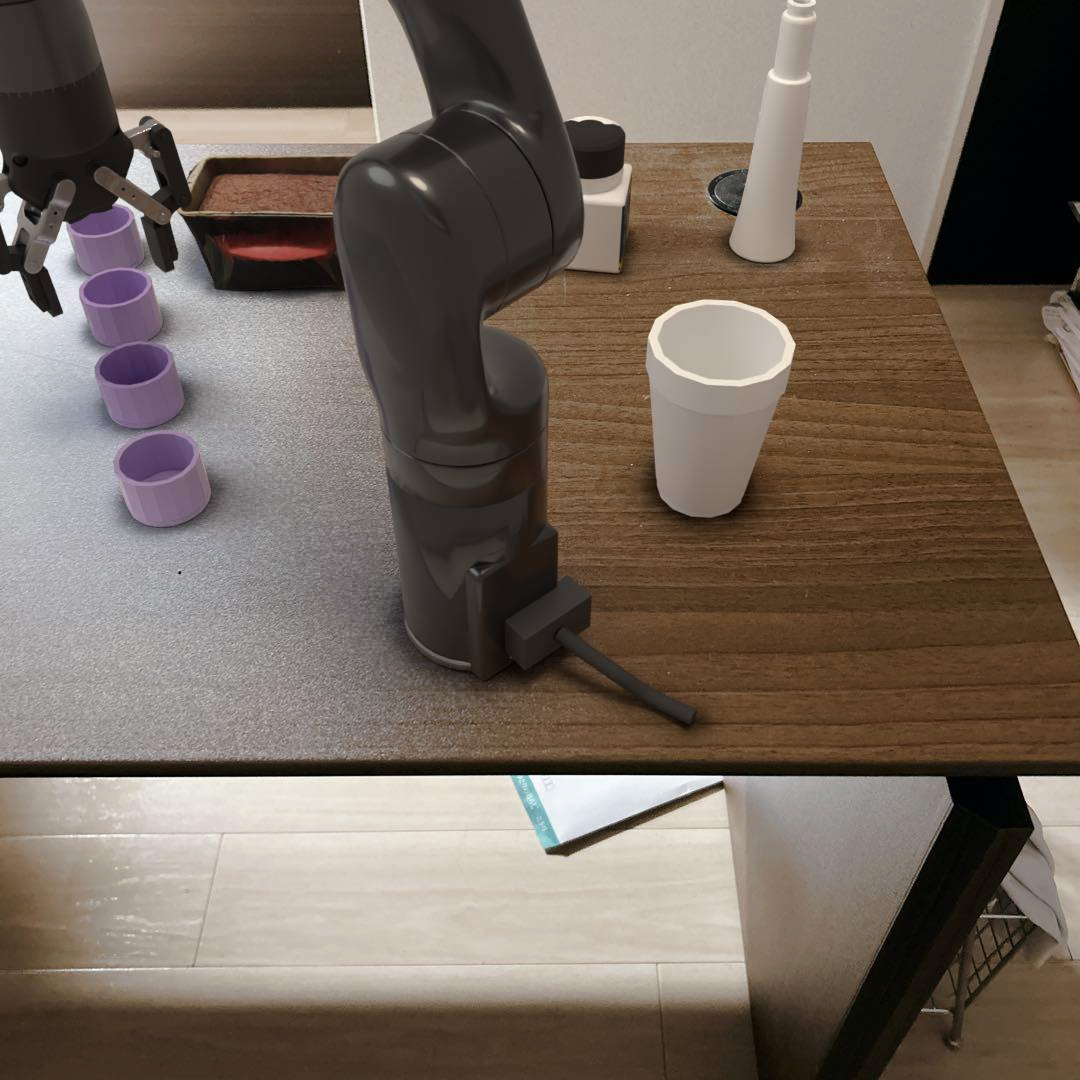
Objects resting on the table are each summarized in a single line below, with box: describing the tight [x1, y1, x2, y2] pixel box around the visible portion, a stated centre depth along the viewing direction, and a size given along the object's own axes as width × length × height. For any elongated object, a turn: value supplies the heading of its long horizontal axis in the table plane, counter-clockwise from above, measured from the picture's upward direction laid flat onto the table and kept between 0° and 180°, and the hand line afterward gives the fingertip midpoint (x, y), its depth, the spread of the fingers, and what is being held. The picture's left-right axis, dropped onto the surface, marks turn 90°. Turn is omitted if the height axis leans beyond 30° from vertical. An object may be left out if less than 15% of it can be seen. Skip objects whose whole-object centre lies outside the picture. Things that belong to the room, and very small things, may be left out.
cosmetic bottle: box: [728, 0, 818, 264], centre depth 97 cm, size 6×6×22 cm
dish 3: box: [112, 429, 212, 528], centre depth 80 cm, size 6×6×4 cm
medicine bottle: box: [564, 115, 633, 274], centre depth 100 cm, size 7×7×12 cm
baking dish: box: [176, 153, 358, 291], centre depth 101 cm, size 14×18×10 cm
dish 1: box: [78, 267, 164, 348], centre depth 94 cm, size 6×6×4 cm
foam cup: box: [645, 298, 796, 518], centre depth 78 cm, size 10×9×13 cm
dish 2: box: [94, 341, 186, 430], centre depth 87 cm, size 6×6×4 cm
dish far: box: [65, 203, 146, 276], centre depth 102 cm, size 6×6×4 cm
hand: (110, 288), depth 81 cm, fingers open, 8 cm apart
